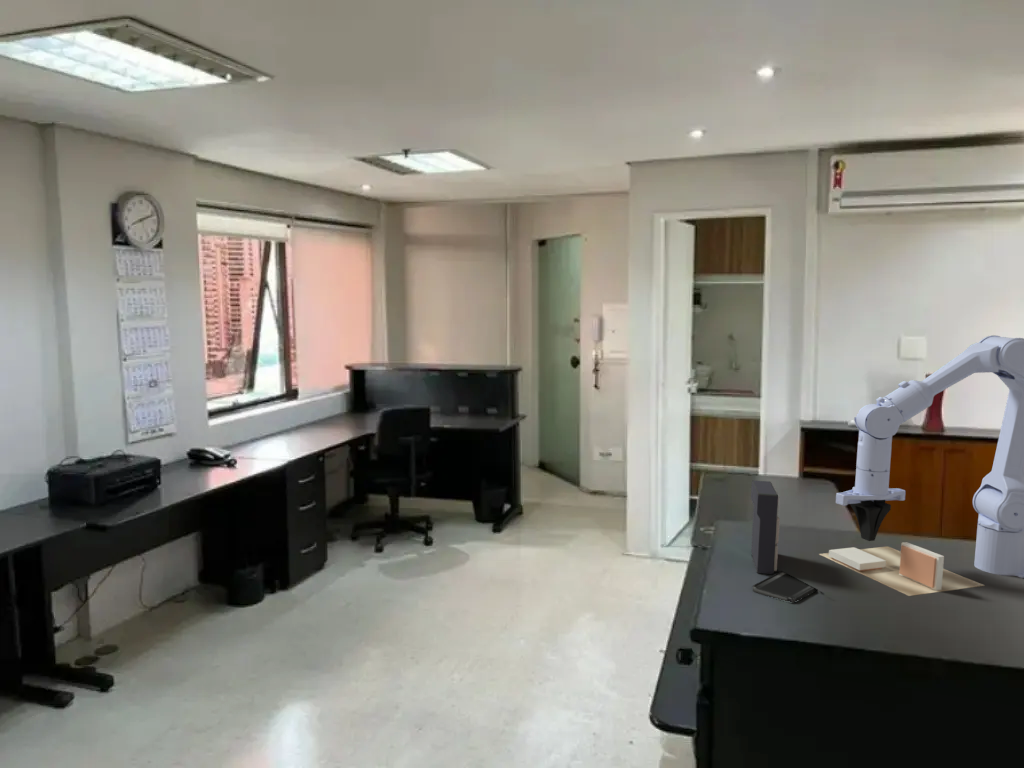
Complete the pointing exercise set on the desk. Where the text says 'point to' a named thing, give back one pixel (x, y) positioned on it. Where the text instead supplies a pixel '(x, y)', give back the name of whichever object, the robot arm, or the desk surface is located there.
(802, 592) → the phone
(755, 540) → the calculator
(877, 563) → the tile
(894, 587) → the board
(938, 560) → the tile
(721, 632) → the desk surface
